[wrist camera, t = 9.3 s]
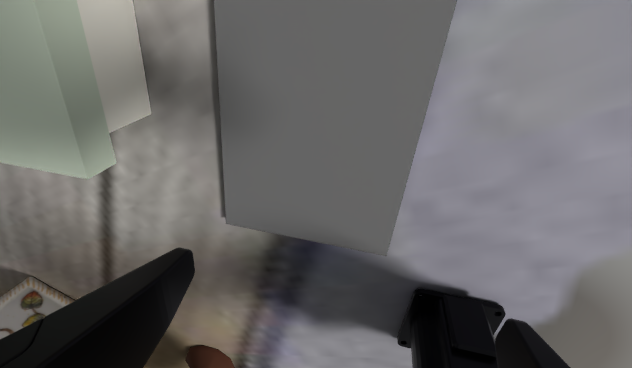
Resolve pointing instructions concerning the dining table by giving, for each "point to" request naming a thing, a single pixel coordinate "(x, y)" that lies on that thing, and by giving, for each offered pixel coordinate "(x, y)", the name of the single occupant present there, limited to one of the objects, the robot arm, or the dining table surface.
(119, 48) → the white rectangular box
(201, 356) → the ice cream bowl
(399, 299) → the dining table surface
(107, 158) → the sage lid
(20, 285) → the decorative jar
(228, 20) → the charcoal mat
